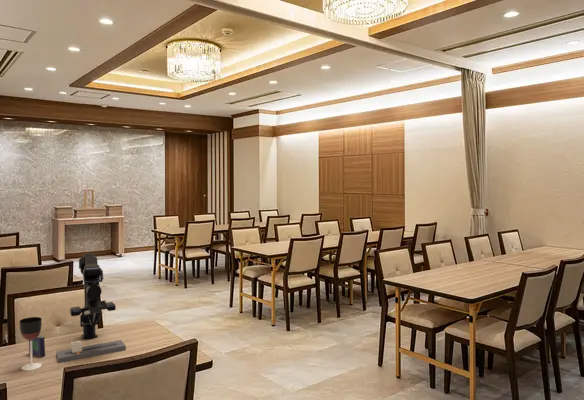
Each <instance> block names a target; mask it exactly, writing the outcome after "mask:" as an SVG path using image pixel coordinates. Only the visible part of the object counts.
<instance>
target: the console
mask: <svg viewBox="0 0 584 400" xmlns="http://www.w3.org/2000/svg"><path fill="white" fill-rule="evenodd" d="M126 349H127V346H126V344H125V343H124V342H123V340H122V339H118V340H113V341H107V342H102V343H96V344H89V345H84V346H82V351H81V352H75V353H72V351H71V348H68V349H62V350H58V351H56V352H55V356H56V359H57V362H58V363H59V364H60V363H66V362H70V361H76V360H81V359H87V358H91V357H97V356H103V355H106V354H107V355H108V354H112V353H116V352H122V351H126Z"/></svg>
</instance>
